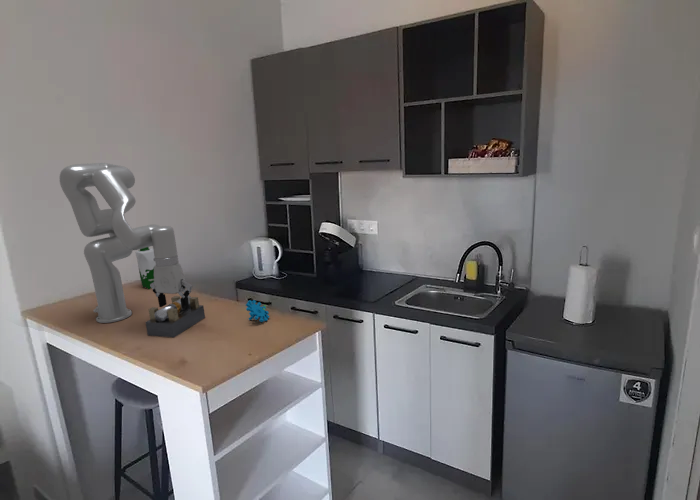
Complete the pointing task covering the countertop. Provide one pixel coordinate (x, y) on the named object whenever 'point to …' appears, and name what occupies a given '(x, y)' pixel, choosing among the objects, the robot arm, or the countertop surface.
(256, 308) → the gear
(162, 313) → the tube
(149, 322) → the grey plate with feet
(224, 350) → the countertop surface
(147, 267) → the milk carton
